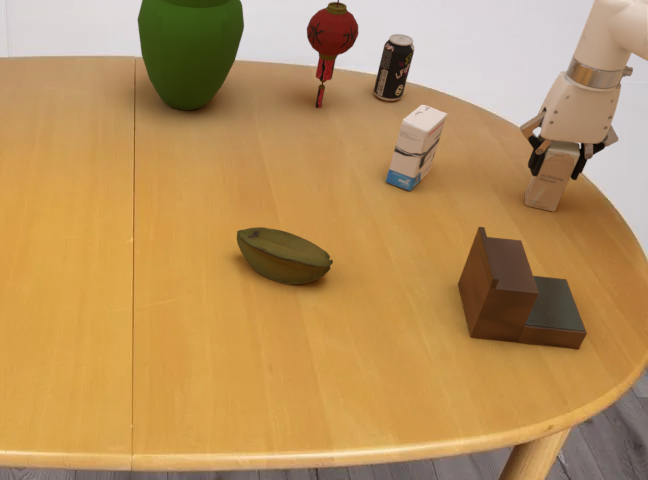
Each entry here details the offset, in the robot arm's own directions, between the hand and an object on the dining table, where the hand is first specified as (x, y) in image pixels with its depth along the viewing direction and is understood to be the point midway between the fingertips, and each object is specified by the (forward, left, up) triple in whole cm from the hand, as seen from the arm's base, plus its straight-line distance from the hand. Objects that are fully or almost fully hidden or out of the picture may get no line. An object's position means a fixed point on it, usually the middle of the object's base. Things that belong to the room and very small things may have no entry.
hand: (552, 172), depth 145 cm
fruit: (+44, +26, -6) cm, 51 cm away
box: (0, 0, -6) cm, 6 cm away
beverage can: (+23, -34, -6) cm, 42 cm away
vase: (+63, -24, -6) cm, 68 cm away
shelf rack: (+10, +31, -6) cm, 33 cm away
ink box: (+22, -4, -6) cm, 23 cm away
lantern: (+37, -27, -6) cm, 46 cm away
